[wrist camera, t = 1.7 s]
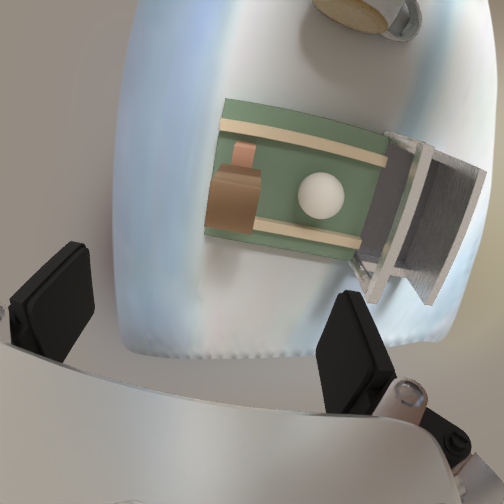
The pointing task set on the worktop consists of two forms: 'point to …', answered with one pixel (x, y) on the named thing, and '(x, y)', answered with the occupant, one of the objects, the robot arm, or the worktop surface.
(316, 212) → the ball
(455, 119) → the worktop surface
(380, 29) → the ceramic mug
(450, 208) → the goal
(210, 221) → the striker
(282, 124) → the field
